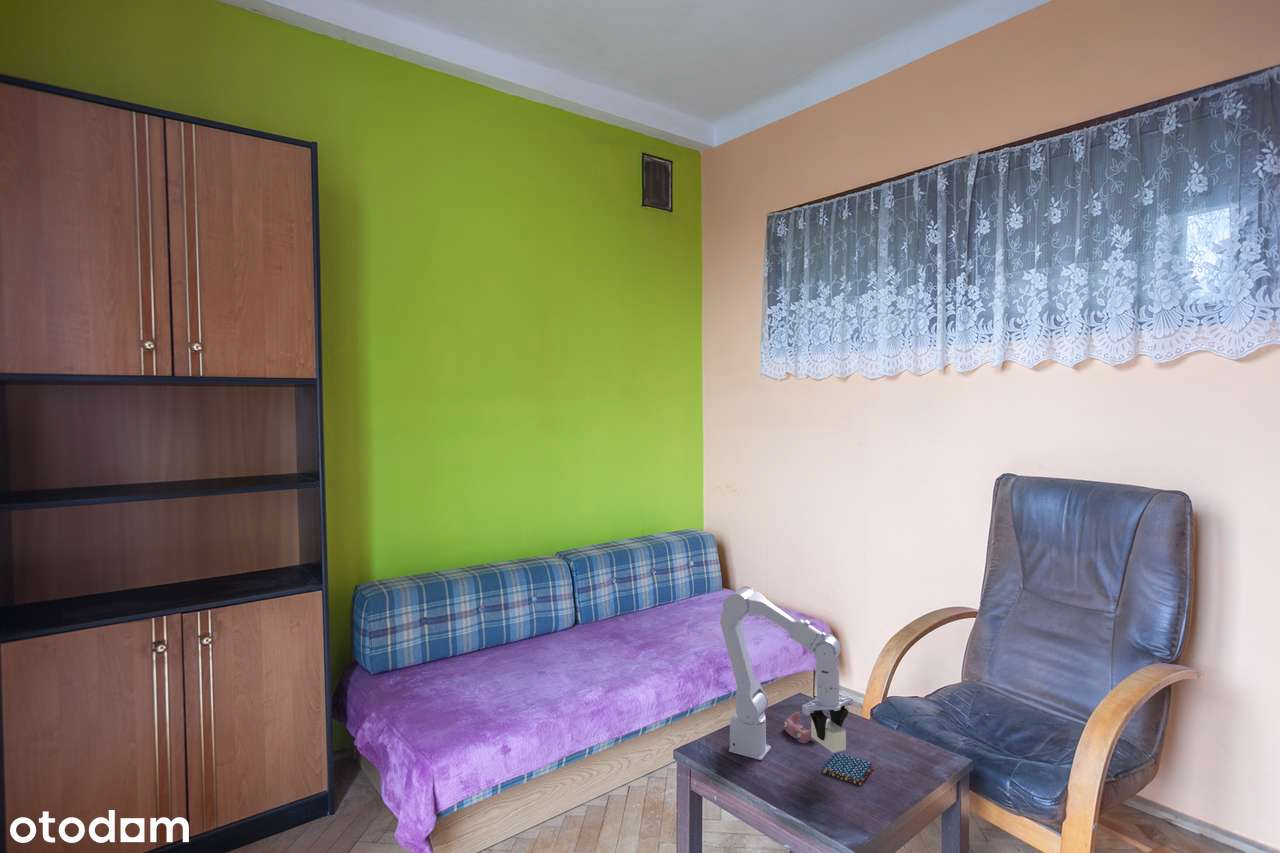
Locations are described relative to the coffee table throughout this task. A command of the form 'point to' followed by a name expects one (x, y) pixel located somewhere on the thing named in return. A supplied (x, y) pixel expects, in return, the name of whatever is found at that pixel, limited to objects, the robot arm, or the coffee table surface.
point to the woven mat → (848, 768)
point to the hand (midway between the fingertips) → (828, 736)
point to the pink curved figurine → (797, 729)
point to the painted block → (831, 736)
